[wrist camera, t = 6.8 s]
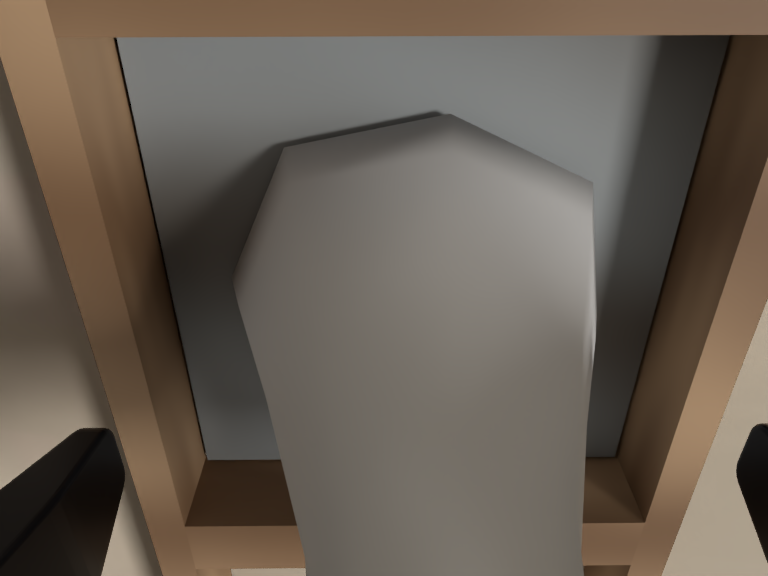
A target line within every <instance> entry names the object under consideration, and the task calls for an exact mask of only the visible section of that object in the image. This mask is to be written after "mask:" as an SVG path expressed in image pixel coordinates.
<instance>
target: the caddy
mask: <svg viewBox="0 0 768 576" xmlns="http://www.w3.org/2000/svg"><path fill="white" fill-rule="evenodd" d="M115 38H117V42H118V47H119V51H120V56H121V61H122V65H123V70H124V75H125V79H126V84H127V89H128V93H129V98H130V102H131V107H132V112H133V116H134V121H135V126H136V130H137V135H138V139H139V144H140V149H141V153H142V158H143V163H144V167H145V172H146V177H147V181H148V186H149V190H150V195H151V200H152V204H153V209H154V214H155V218H156V223H157V227H158V232H159V237H160V241H161V246H162V251H163V255H164V260H165V265H166V269H167V274H168V278H169V283H170V288H171V292H172V297H173V302H174V306H175V311H176V315H177V320H178V325H179V329H180V334H181V339H182V343H183V348H184V352H183V348H182V343H181V339H180V334H179V329H178V325H177V320H176V316H175V311H174V306H173V302H172V297H171V293H170V288H169V283H168V279H167V274H166V269H165V265H164V260H163V256H162V251H161V246H160V242H159V237H158V233H157V228H156V223H155V219H154V214H153V210H152V205H151V200H150V196H149V191H148V187H147V182H146V177H145V173H144V168H143V163H142V159H141V154H140V150H139V145H138V140H137V136H136V131H135V127H134V122H133V117H132V113H131V108H130V104H129V99H128V94H127V90H126V85H125V80H124V76H123V71H122V67H121V62H120V57H119V53H118V48H117V44H116V39H115ZM0 58H1V61H2V64H3V67H4V70H5V73H6V77H7V80H8V83H9V86H10V89H11V93H12V96H13V99H14V102H15V105H16V109H17V112H18V115H19V118H20V121H21V125H22V128H23V131H24V134H25V137H26V140H27V144H28V147H29V150H30V153H31V156H32V160H33V163H34V166H35V169H36V172H37V176H38V179H39V182H40V185H41V188H42V192H43V195H44V198H45V201H46V204H47V207H48V211H49V214H50V217H51V220H52V223H53V227H54V230H55V233H56V236H57V239H58V243H59V246H60V249H61V252H62V255H63V259H64V262H65V265H66V268H67V271H68V274H69V278H70V281H71V284H72V287H73V290H74V294H75V297H76V300H77V303H78V306H79V310H80V313H81V316H82V319H83V322H84V326H85V329H86V332H87V335H88V338H89V341H90V345H91V348H92V351H93V354H94V357H95V361H96V364H97V367H98V370H99V373H100V377H101V380H102V383H103V386H104V389H105V393H106V396H107V399H108V402H109V405H110V408H111V412H112V415H113V418H114V421H115V424H116V428H117V431H118V434H119V437H120V440H121V444H122V447H123V450H124V453H125V456H126V460H127V463H128V466H129V469H130V472H131V475H132V479H133V482H134V485H135V488H136V491H137V495H138V498H139V501H140V504H141V507H142V511H143V514H144V517H145V520H146V523H147V527H148V530H149V533H150V536H151V539H152V542H153V546H154V549H155V552H156V555H157V558H158V562H159V565H160V568H161V571H162V574H163V576H232V574H231V569H243V568H306V566H305V556H304V552H303V548H302V544H301V540H300V535H299V531H298V527H297V523H296V519H295V515H294V511H293V507H292V503H291V499H290V494H289V490H288V486H287V482H286V478H285V474H284V470H283V466H282V462H281V458H280V453H279V449H278V445H277V441H276V437H275V433H274V429H273V425H272V421H271V417H270V412H269V408H268V404H267V400H266V396H265V393H264V390H263V386H262V383H261V380H260V376H259V373H258V370H257V366H256V363H255V360H254V356H253V353H252V350H251V346H250V343H249V340H248V336H247V333H246V330H245V326H244V323H243V319H242V316H241V313H240V309H239V306H238V302H237V298H236V294H235V290H234V285H233V281H232V275H233V273H234V270H235V268H236V265H237V263H238V261H239V258H240V256H241V253H242V251H243V248H244V246H245V243H246V241H247V238H248V236H249V233H250V231H251V228H252V226H253V223H254V221H255V218H256V216H257V213H258V211H259V208H260V206H261V203H262V201H263V198H264V196H265V194H266V191H267V189H268V186H269V184H270V181H271V179H272V176H273V174H274V171H275V169H276V166H277V164H278V161H279V159H280V156H281V154H282V151H283V149H284V147H288V146H293V145H298V144H303V143H308V142H313V141H318V140H323V139H328V138H333V137H338V136H343V135H348V134H352V133H357V132H362V131H367V130H372V129H377V128H382V127H387V126H392V125H397V124H402V123H407V122H412V121H417V120H422V119H427V118H431V117H436V116H441V115H446V114H452V115H454V116H456V117H458V118H461V119H463V120H465V121H467V122H469V123H471V124H473V125H475V126H477V127H479V128H481V129H483V130H485V131H487V132H490V133H492V134H494V135H496V136H498V137H500V138H502V139H504V140H506V141H508V142H510V143H512V144H514V145H516V146H519V147H521V148H523V149H525V150H527V151H529V152H531V153H533V154H535V155H537V156H539V157H541V158H543V159H545V160H548V161H550V162H552V163H554V164H556V165H558V166H560V167H562V168H564V169H566V170H568V171H570V172H572V173H574V174H577V175H579V176H581V177H583V178H585V179H587V180H589V181H591V182H593V199H594V235H595V271H596V307H597V318H596V340H595V351H594V361H593V370H592V380H591V390H590V400H589V410H588V420H587V435H586V457H585V480H584V502H583V524H582V547H581V554H582V562H583V566H585V567H584V576H661V575H662V573H663V570H664V567H665V565H666V562H667V560H668V557H669V554H670V552H671V549H672V546H673V544H674V541H675V539H676V536H677V533H678V531H679V528H680V526H681V523H682V520H683V518H684V515H685V513H686V510H687V507H688V505H689V502H690V500H691V497H692V494H693V492H694V489H695V487H696V484H697V481H698V479H699V476H700V474H701V471H702V468H703V466H704V463H705V460H706V458H707V455H708V453H709V450H710V447H711V445H712V442H713V440H714V437H715V434H716V432H717V429H718V427H719V424H720V421H721V419H722V416H723V414H724V411H725V408H726V406H727V403H728V401H729V398H730V395H731V393H732V390H733V387H734V385H735V382H736V380H737V377H738V374H739V372H740V369H741V367H742V364H743V361H744V359H745V356H746V354H747V351H748V348H749V346H750V343H751V341H752V338H753V335H754V333H755V330H756V328H757V325H758V322H759V320H760V317H761V314H762V312H763V309H764V307H765V304H766V301H767V299H768V0H0ZM184 353H185V357H186V362H187V366H188V371H189V375H188V371H187V366H186V362H185V357H184ZM189 376H190V380H191V385H192V389H191V385H190V380H189ZM192 390H193V394H194V399H195V403H196V408H197V412H196V408H195V403H194V399H193V394H192ZM197 413H198V417H199V422H200V426H199V422H198V417H197ZM200 427H201V431H202V435H201V431H200ZM202 436H203V440H202ZM203 441H204V445H205V449H204V445H203ZM205 450H206V454H207V457H206V454H205Z"/></svg>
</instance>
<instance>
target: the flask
mask: <svg viewBox="0 0 768 576" xmlns="http://www.w3.org/2000/svg"><path fill="white" fill-rule="evenodd" d="M232 281H233V285H234V290H235V294H236V298H237V302H238V306H239V309H240V313H241V316H242V319H243V323H244V326H245V330H246V333H247V336H248V340H249V343H250V346H251V350H252V353H253V356H254V360H255V363H256V366H257V370H258V373H259V376H260V380H261V383H262V386H263V390H264V393H265V396H266V400H267V404H268V408H269V412H270V417H271V421H272V425H273V429H274V433H275V437H276V441H277V445H278V449H279V453H280V458H281V462H282V466H283V470H284V474H285V478H286V482H287V486H288V490H289V494H290V499H291V503H292V507H293V511H294V515H295V519H296V523H297V527H298V531H299V535H300V540H301V544H302V548H303V552H304V556H305V566H306V576H584V571H583V562H582V554H581V547H582V524H583V502H584V480H585V457H586V435H587V420H588V410H589V400H590V390H591V380H592V370H593V361H594V351H595V340H596V318H597V307H596V271H595V235H594V199H593V182H591V181H589V180H587V179H585V178H583V177H581V176H579V175H577V174H574V173H572V172H570V171H568V170H566V169H564V168H562V167H560V166H558V165H556V164H554V163H552V162H550V161H548V160H545V159H543V158H541V157H539V156H537V155H535V154H533V153H531V152H529V151H527V150H525V149H523V148H521V147H519V146H516V145H514V144H512V143H510V142H508V141H506V140H504V139H502V138H500V137H498V136H496V135H494V134H492V133H490V132H487V131H485V130H483V129H481V128H479V127H477V126H475V125H473V124H471V123H469V122H467V121H465V120H463V119H461V118H458V117H456V116H454V115H452V114H446V115H441V116H436V117H431V118H427V119H422V120H417V121H412V122H407V123H402V124H397V125H392V126H387V127H382V128H377V129H372V130H367V131H362V132H357V133H352V134H348V135H343V136H338V137H333V138H328V139H323V140H318V141H313V142H308V143H303V144H298V145H293V146H288V147H284V149H283V151H282V154H281V156H280V159H279V161H278V164H277V166H276V169H275V171H274V174H273V176H272V179H271V181H270V184H269V186H268V189H267V191H266V194H265V196H264V198H263V201H262V203H261V206H260V208H259V211H258V213H257V216H256V218H255V221H254V223H253V226H252V228H251V231H250V233H249V236H248V238H247V241H246V243H245V246H244V248H243V251H242V253H241V256H240V258H239V261H238V263H237V265H236V268H235V270H234V273H233V275H232Z"/></svg>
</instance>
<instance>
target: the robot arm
mask: <svg viewBox="0 0 768 576" xmlns="http://www.w3.org/2000/svg"><path fill="white" fill-rule="evenodd" d="M736 473H737V479H738V483H739V486H740V489H741V491H742V494H743V497H744V499H745V502H746V505H747V508H748V510H749V513H750V516H751V519H752V521H753V524H754V527H755V530H756V532H757V535H758V538H759V541H760V543H761V546H762V549H763V552H764V554H765V557H766V560H767V562H768V423H765V424H757V425H756V426H755V427H753V428H752V430H751V432H750V434H749V436H748V439H747V441H746V444H745V446H744V448H743V451H742V453H741V455H740V458H739V460H738V463H737V469H736ZM124 482H125V470H124V466H123V463H122V459H121V456H120V453H119V450H118V447H117V444H116V440H115V437H114V435H113V433H112V432H111V430H109V429H106V428H82V429H79V430H77V431H75V432H74V433H72V434H71V435H70V436H68V437H67V438H66V439H65V440H63V441H62V442H61V443H59V444H58V445H57V446H56V447H54V448H53V449H52V450H51V451H49V452H48V453H47V454H45V455H44V456H43V457H42V458H40V459H39V460H38V461H36V462H35V463H34V464H33V465H31V466H30V467H29V468H27V469H26V470H25V471H24V472H22V473H21V474H20V475H18V476H17V477H16V478H15V479H13V480H12V481H11V482H10V483H8V484H7V485H6V486H4V487H3V488H2V489H1V490H0V576H101V574H102V570H103V566H104V562H105V558H106V554H107V550H108V546H109V542H110V539H111V535H112V531H113V527H114V523H115V519H116V515H117V511H118V507H119V503H120V499H121V495H122V491H123V487H124Z"/></svg>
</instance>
